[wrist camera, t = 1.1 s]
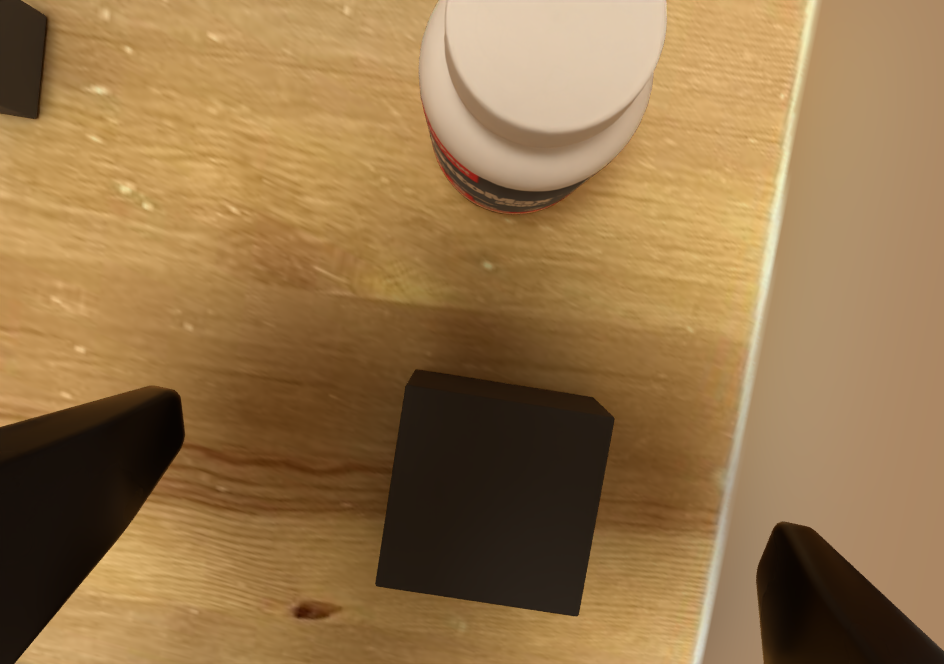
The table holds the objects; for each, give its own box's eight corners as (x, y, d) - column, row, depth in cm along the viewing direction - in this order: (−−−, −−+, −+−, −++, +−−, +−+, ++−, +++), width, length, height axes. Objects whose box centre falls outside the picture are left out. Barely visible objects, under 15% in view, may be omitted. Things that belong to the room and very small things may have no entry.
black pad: (563, 569, 21) (578, 617, 18) (388, 542, 21) (374, 587, 18) (593, 396, 20) (615, 417, 17) (414, 368, 20) (405, 384, 17)
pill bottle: (401, 163, 20) (348, 69, 11) (483, 16, 19) (496, -205, 11) (544, 246, 20) (605, 221, 11) (628, 102, 20) (759, -42, 11)
